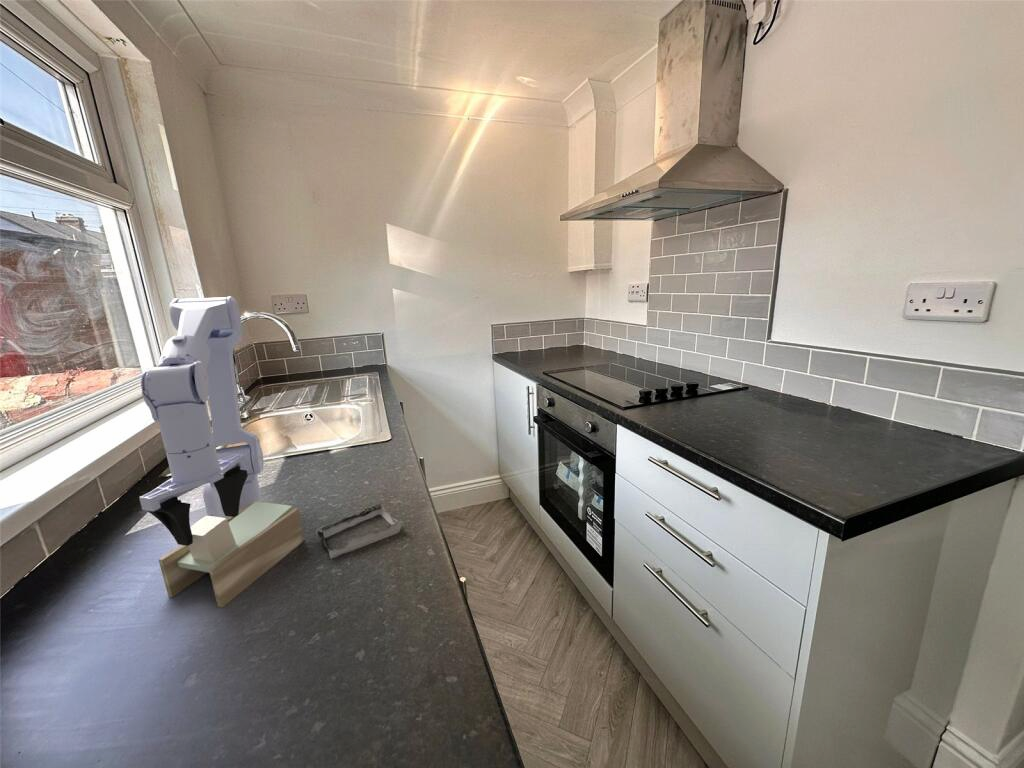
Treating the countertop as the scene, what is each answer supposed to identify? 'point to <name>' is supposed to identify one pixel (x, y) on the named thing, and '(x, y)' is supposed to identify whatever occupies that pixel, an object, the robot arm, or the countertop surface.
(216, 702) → the countertop surface
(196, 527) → the beige cube
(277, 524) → the trapdoor frame
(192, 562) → the trapdoor
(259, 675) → the countertop surface
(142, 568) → the countertop surface
